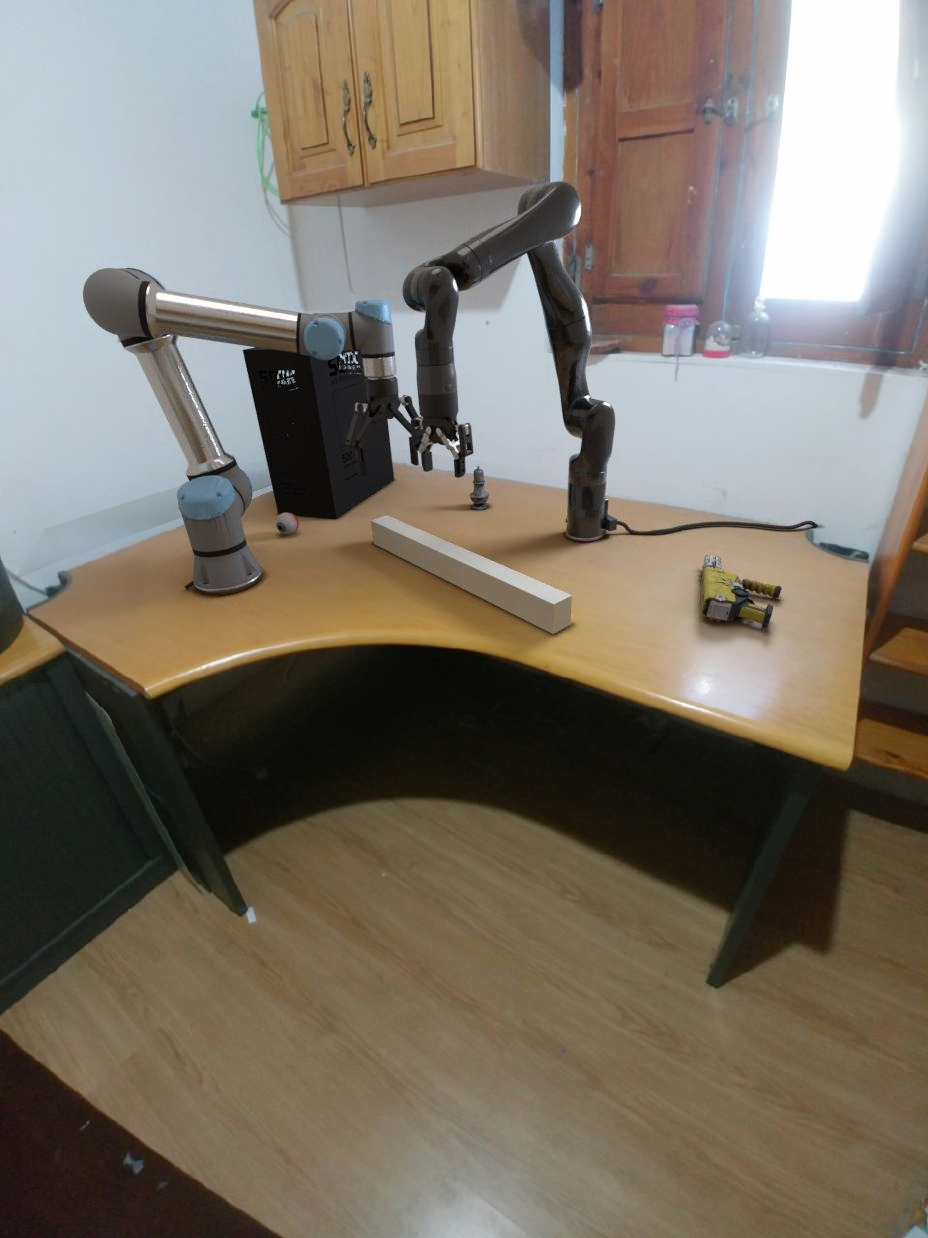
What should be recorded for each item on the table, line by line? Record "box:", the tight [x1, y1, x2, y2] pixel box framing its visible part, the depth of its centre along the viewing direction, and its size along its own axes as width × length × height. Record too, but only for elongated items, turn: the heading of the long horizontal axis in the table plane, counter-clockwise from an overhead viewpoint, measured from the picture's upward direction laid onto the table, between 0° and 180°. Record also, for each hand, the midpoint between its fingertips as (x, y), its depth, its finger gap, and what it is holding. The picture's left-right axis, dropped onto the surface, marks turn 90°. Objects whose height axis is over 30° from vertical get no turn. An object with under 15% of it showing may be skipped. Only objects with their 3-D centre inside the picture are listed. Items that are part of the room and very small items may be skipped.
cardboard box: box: [242, 347, 395, 520], centre depth 181 cm, size 38×20×45 cm, turn 159°
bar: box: [370, 515, 573, 635], centre depth 135 cm, size 63×5×6 cm, turn 40°
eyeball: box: [275, 512, 300, 536], centre depth 163 cm, size 6×6×6 cm
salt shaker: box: [469, 465, 491, 510], centre depth 173 cm, size 6×6×12 cm
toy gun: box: [700, 553, 783, 630], centre depth 120 cm, size 5×24×15 cm
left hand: (390, 469), depth 147 cm, fingers open, 13 cm apart
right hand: (443, 473), depth 122 cm, fingers open, 8 cm apart
